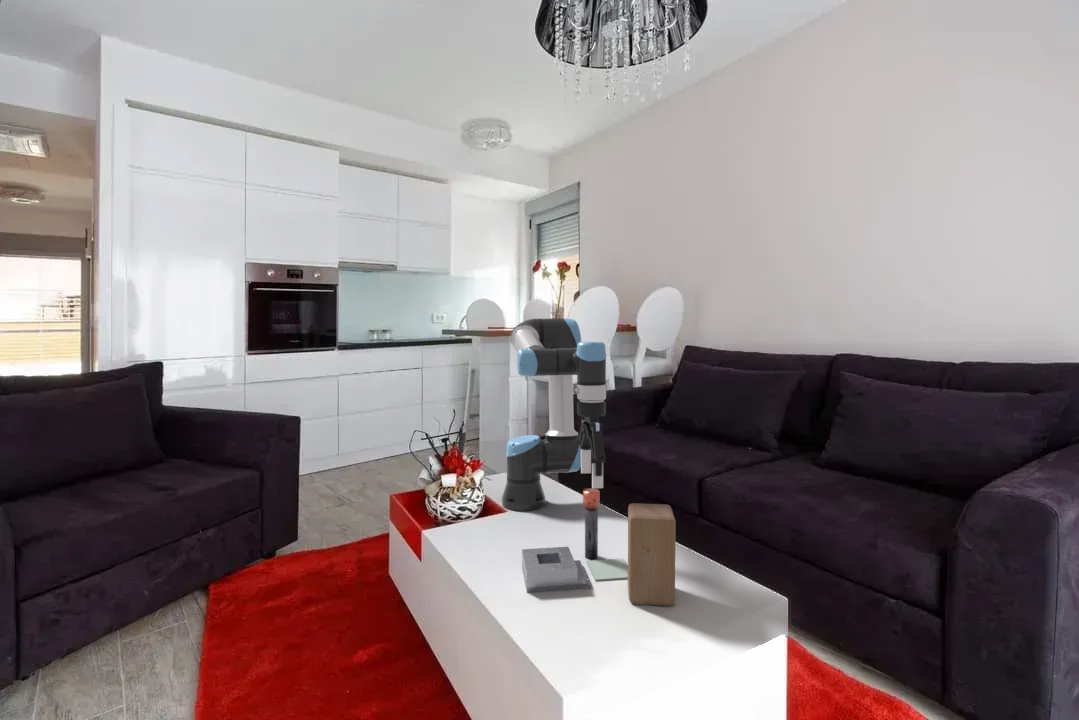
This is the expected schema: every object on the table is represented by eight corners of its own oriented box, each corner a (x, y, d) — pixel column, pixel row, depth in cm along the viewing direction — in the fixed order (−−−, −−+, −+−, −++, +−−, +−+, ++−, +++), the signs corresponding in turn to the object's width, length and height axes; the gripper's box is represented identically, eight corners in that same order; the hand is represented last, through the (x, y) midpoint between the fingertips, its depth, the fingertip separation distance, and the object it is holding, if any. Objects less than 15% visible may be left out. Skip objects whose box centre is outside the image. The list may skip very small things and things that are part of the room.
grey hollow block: (522, 568, 131) (521, 549, 131) (579, 564, 133) (579, 545, 133) (526, 592, 120) (526, 571, 119) (590, 587, 121) (590, 567, 121)
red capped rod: (581, 553, 140) (581, 488, 138) (597, 552, 140) (597, 488, 139) (585, 561, 135) (584, 494, 134) (601, 560, 136) (601, 493, 135)
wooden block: (628, 605, 114) (629, 516, 113) (627, 582, 124) (628, 501, 122) (675, 608, 112) (676, 519, 111) (670, 585, 122) (671, 503, 121)
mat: (586, 562, 135) (586, 560, 135) (623, 559, 136) (623, 558, 136) (595, 581, 125) (595, 579, 125) (635, 578, 126) (635, 576, 126)
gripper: (568, 394, 147) (568, 468, 148) (587, 407, 122) (587, 495, 123) (594, 394, 148) (594, 467, 149) (618, 407, 123) (618, 494, 124)
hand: (591, 480), depth 136 cm, fingers open, 13 cm apart
